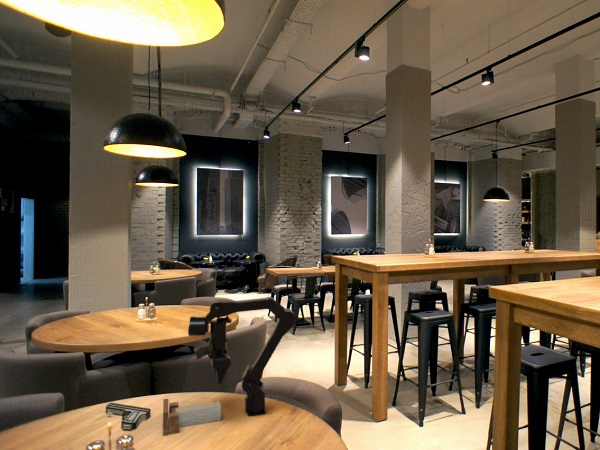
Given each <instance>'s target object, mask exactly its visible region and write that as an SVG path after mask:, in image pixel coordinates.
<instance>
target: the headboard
mask: <svg viewBox="0 0 600 450" xmlns="http://www.w3.org/2000/svg"><path fill="white" fill-rule="evenodd" d="M162 401H163V403H162V405H163V406H162V407H163V408H162V436H168V435H172V434H178V433H180V428H179V412H174V413H172V408H178V407H180V405H179V401H175V402H169V398H163V400H162Z"/></svg>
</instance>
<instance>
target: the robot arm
mask: <svg viewBox="0 0 600 450" xmlns="http://www.w3.org/2000/svg"><path fill="white" fill-rule="evenodd" d="M262 310H263V311H264V310H269V311H270V312H271V314H273V315H274V316H275V317H276V318H277V319H276V322H275V326H274V329H273V330H272V332H271V334H270V336H269V338H268V339H267V340H266V343H265V344H264V346H263V348H262V349H261V351H260V353H259V355H258V356H257V358H256V360H255V362H254V363H253V364H252V365H250V363H248V364H247V366H246V368H245V370H244V371H243V372H242V374H241V375H242V376H241V387H242V390H243V392H245V393H246V394H245V398H244V410H245V412H246V414H247V416H248V417H251V416H256V415H257V416H258V415H262V414H267V411H266V394H265V390H264V382H263V381H262V380H261V379H262V376H263V372H264V371H265V368H266V367H267V364H268V363H269V361H270V360H271V357H272V356H273V354H274V352H275V351H276V349H277V347H278V346H279V344H280V342H281V341H282V339H283V337H284V336H285V335H286V334H287V333H288V332H289V331H290V330H291V329H292V327H293V326H295V323H296V321H297V319H296V315H295V314H294V312H293V310H292V309H290V308H285V307H284V306H283V305H281V304H280V302H278V301H276V300H275V299H274V297H271V296H268V297H262V298H253V299H242V300H233V299H225V298H224V299H223V298H222V299H221V298H218V299H215V300H214V301H213V302H212V303H211V304H210V308H209V312H208V313H206V315H205V316H194V315H193V316H190V317H189V324H188V329H187V330H188V331H187V332H188V333H187V334H188V337H204V336H205V337H206V334H208V333H209V331H210V335H209V338H208V341H207V342H203V343H202V344H200V345H197V346H195V347H193V351H194V355H195V358H196V360H200V359H202V358H203V357H206V356H208V358H209V359H210V360H211V361H210V362H211V363H210V364H211V368H212V369H213V371H214V375H215V376H216V378H217V383H218V385H221V384H222V383H223V381H224V379H225V376H226V374H227V373H228V371H229V368H230V366H231V365H232V361H231V360H232V359H231V357H230V356H229V355H228V349H227V342H228V338H227V332H228V331H227V329H228V325H227V324H231V323H232V322H233V319H232V318H231V317H229V316H230V315H232V314H235V313H240V312H242V313H243V312H251V311H262Z"/></svg>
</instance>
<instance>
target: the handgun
mask: <svg viewBox="0 0 600 450" xmlns="http://www.w3.org/2000/svg"><path fill="white" fill-rule="evenodd" d="M151 409H152V408H149V407H142V406H141V407H140V406H136V405H135V406H133V405H128V404H124V403H123V404H121V403H115V402H109V403H108V404H107V405H106V407H105V414H107V415H109V416H120V417H121V420H122V421H120V422H121V423H120V426H121V427H120V428H121V430H122V431H123V430H124V431H125V430H127V431H128V430H129V431H130V430H131V431H134V430H137V428H138V427H139V425H140V423H143V422H145V421H148V420H149V419H150V418H151V416H152V415H151V412H152V411H151Z"/></svg>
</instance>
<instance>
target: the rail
mask: <svg viewBox="0 0 600 450" xmlns="http://www.w3.org/2000/svg"><path fill="white" fill-rule="evenodd" d="M174 412H179V429H180V428H186V427H193V426H198V425H203V424H204V425H205V424H211V423H217V422H221V421H222V405H221V402H220V401H213V402H205V403H200V404H192V405H184V406H179V407H178V408H172V413H174Z"/></svg>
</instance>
